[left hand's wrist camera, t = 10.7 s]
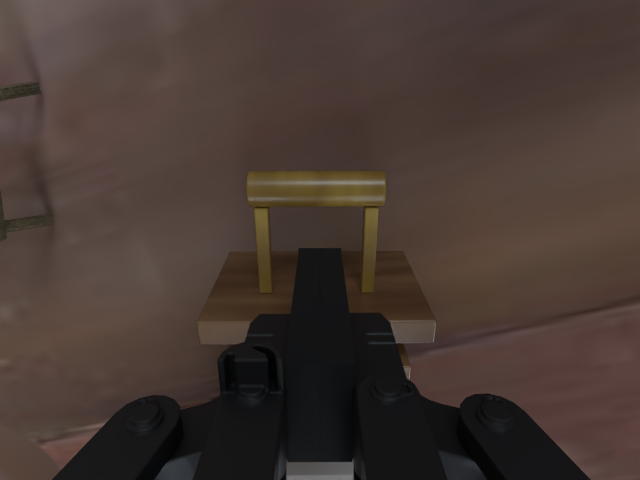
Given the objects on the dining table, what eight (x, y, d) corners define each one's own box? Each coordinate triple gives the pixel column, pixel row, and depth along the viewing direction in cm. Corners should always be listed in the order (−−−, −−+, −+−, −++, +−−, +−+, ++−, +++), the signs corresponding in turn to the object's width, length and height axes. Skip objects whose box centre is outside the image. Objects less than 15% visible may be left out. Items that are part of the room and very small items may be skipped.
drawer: (219, 151, 21) (176, 188, 15) (411, 150, 22) (454, 187, 15) (250, 473, 31) (232, 584, 24) (384, 471, 31) (403, 582, 24)
